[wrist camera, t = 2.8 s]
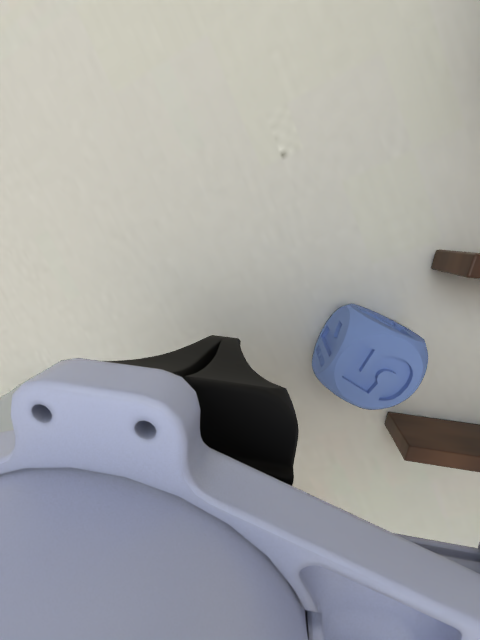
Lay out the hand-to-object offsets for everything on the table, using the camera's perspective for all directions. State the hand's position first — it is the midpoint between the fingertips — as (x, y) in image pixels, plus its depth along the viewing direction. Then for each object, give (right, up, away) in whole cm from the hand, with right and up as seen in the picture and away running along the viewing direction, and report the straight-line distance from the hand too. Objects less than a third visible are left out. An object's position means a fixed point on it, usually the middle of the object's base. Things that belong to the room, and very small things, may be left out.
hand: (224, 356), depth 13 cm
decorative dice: (+7, +1, +4) cm, 8 cm away
